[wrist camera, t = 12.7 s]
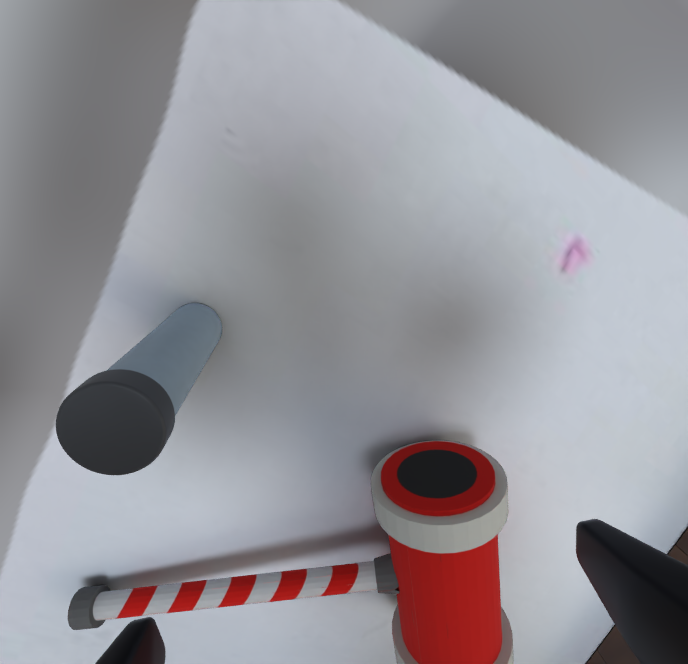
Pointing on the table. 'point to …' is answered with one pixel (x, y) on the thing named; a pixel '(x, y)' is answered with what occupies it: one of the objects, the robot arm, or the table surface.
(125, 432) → the tube grey
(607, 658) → the rack
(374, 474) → the toy hammer
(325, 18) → the table surface
